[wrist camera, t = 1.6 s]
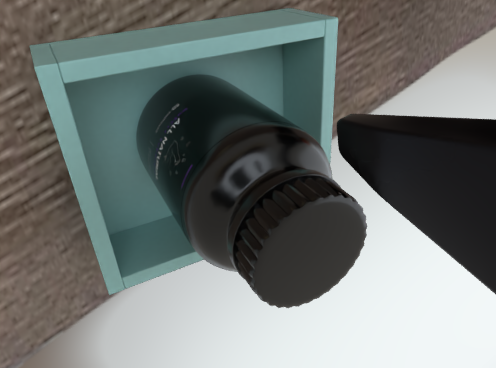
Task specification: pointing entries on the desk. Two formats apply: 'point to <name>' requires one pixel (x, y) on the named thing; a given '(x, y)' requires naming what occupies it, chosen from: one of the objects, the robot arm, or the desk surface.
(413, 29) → the desk surface
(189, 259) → the bin
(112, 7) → the desk surface
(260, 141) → the supplement bottle
